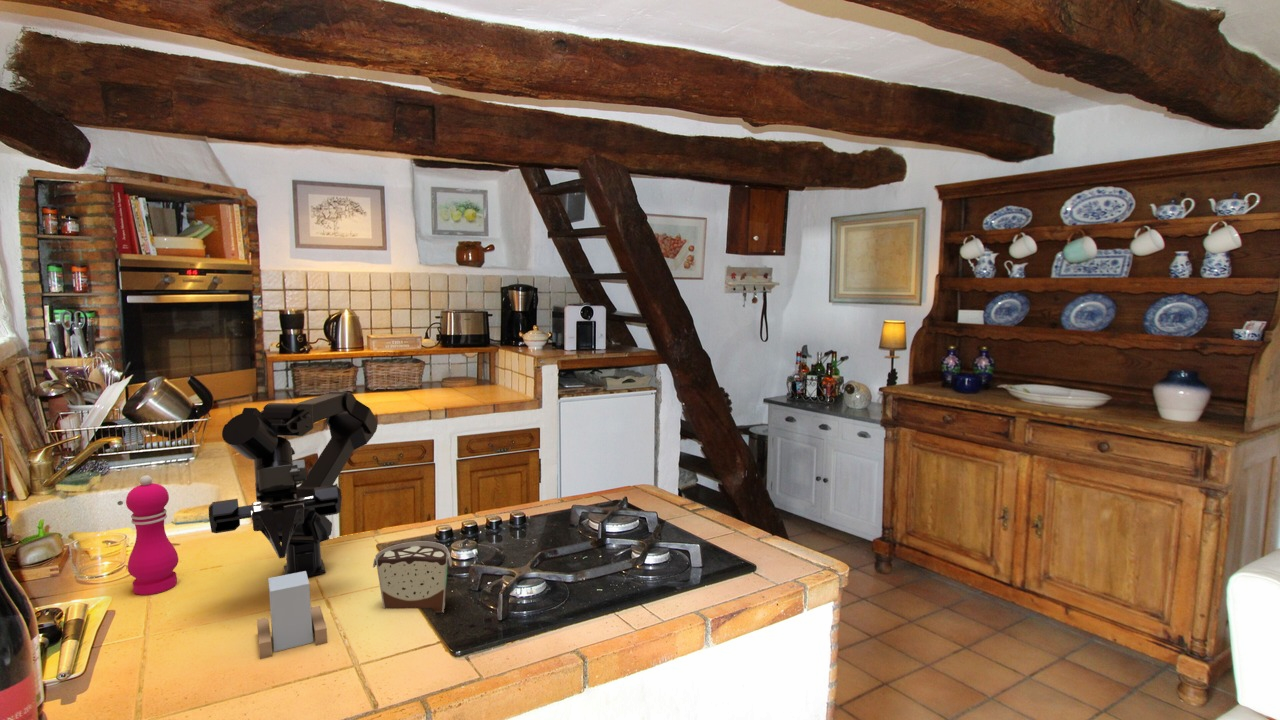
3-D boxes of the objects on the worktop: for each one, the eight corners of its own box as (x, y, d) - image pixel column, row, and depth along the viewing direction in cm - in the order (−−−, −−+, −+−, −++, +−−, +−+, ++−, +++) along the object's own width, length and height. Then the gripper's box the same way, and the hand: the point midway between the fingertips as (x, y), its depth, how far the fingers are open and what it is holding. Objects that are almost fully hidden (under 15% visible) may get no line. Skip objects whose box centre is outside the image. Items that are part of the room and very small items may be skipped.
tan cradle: (258, 639, 104) (256, 619, 104) (321, 625, 109) (320, 605, 108) (262, 691, 92) (261, 668, 91) (334, 672, 96) (332, 650, 95)
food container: (461, 596, 118) (459, 539, 117) (452, 613, 112) (450, 554, 111) (387, 597, 118) (384, 540, 117) (375, 615, 112) (372, 555, 111)
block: (272, 636, 103) (268, 578, 102) (309, 627, 106) (305, 570, 105) (274, 652, 99) (270, 591, 98) (313, 642, 102) (309, 583, 101)
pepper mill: (125, 587, 122) (114, 475, 119) (173, 574, 127) (164, 467, 124) (135, 600, 117) (124, 484, 114) (185, 586, 122) (176, 475, 119)
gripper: (204, 451, 106) (207, 546, 98) (336, 437, 115) (349, 522, 107) (210, 488, 114) (213, 578, 106) (334, 471, 123) (345, 553, 115)
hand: (282, 557), depth 109 cm, fingers closed
